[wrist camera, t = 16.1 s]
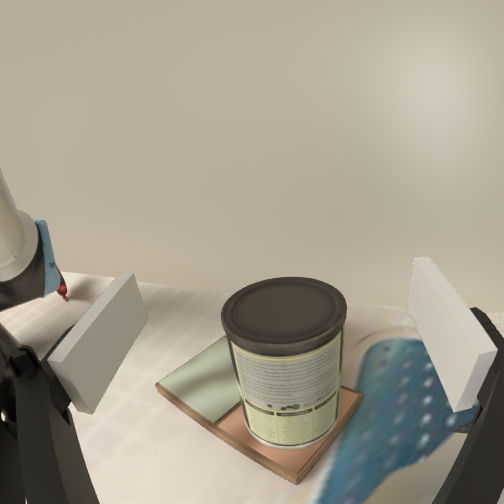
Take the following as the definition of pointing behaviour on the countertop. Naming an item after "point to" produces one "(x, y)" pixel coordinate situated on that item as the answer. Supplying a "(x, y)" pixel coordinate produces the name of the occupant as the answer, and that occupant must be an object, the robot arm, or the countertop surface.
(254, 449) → the green brown wooden board
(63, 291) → the decorative bird figurine
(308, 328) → the coffee can
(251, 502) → the countertop surface
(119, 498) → the countertop surface
